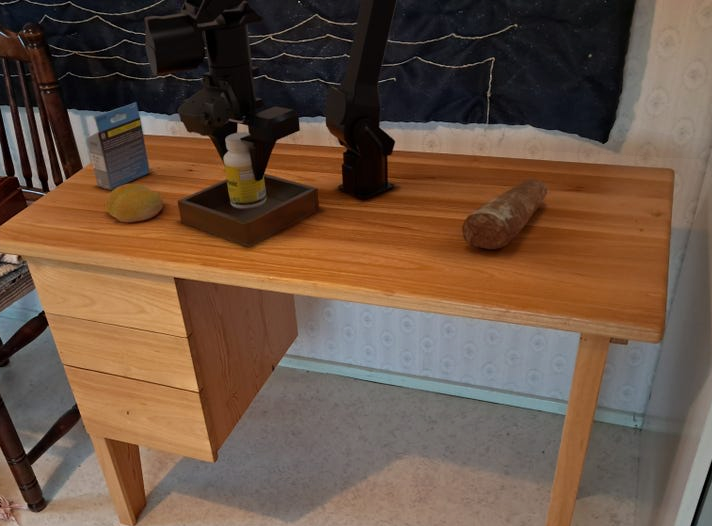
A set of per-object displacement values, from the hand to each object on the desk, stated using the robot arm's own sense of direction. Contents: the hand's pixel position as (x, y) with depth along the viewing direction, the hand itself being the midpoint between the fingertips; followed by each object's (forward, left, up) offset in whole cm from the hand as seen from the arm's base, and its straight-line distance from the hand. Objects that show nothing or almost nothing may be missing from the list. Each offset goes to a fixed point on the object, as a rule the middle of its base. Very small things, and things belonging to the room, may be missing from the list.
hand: (244, 176), depth 106 cm
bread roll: (+12, -15, -6) cm, 20 cm away
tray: (0, 0, -6) cm, 6 cm away
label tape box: (+7, -29, -6) cm, 30 cm away
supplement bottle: (0, 0, -4) cm, 4 cm away
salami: (-22, +29, -6) cm, 37 cm away
